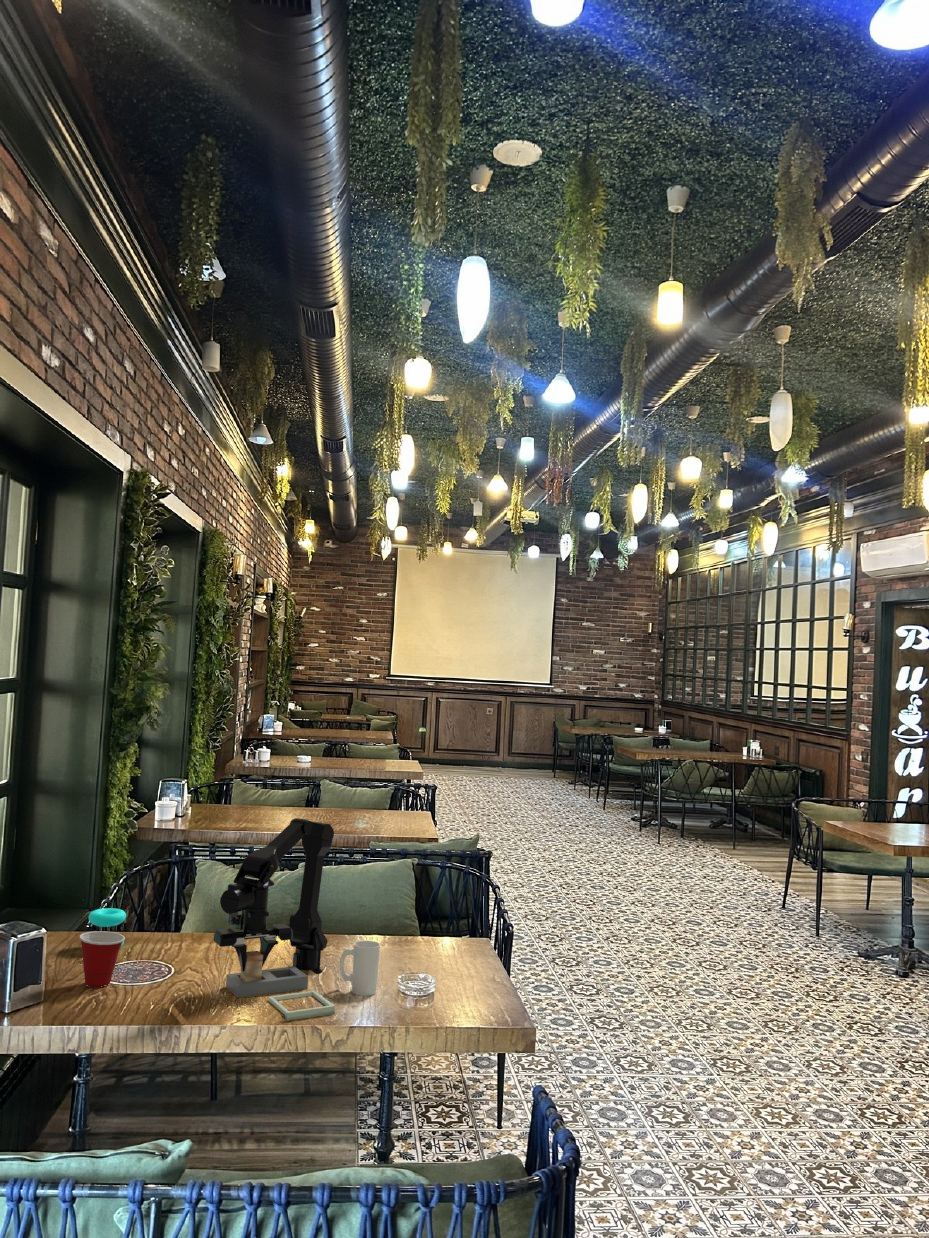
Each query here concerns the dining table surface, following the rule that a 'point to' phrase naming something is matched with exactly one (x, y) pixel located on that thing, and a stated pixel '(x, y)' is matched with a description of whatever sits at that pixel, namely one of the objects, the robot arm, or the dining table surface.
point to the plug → (252, 967)
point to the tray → (304, 1012)
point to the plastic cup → (100, 956)
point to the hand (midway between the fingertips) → (251, 969)
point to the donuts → (107, 917)
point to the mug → (362, 967)
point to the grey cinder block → (268, 982)
